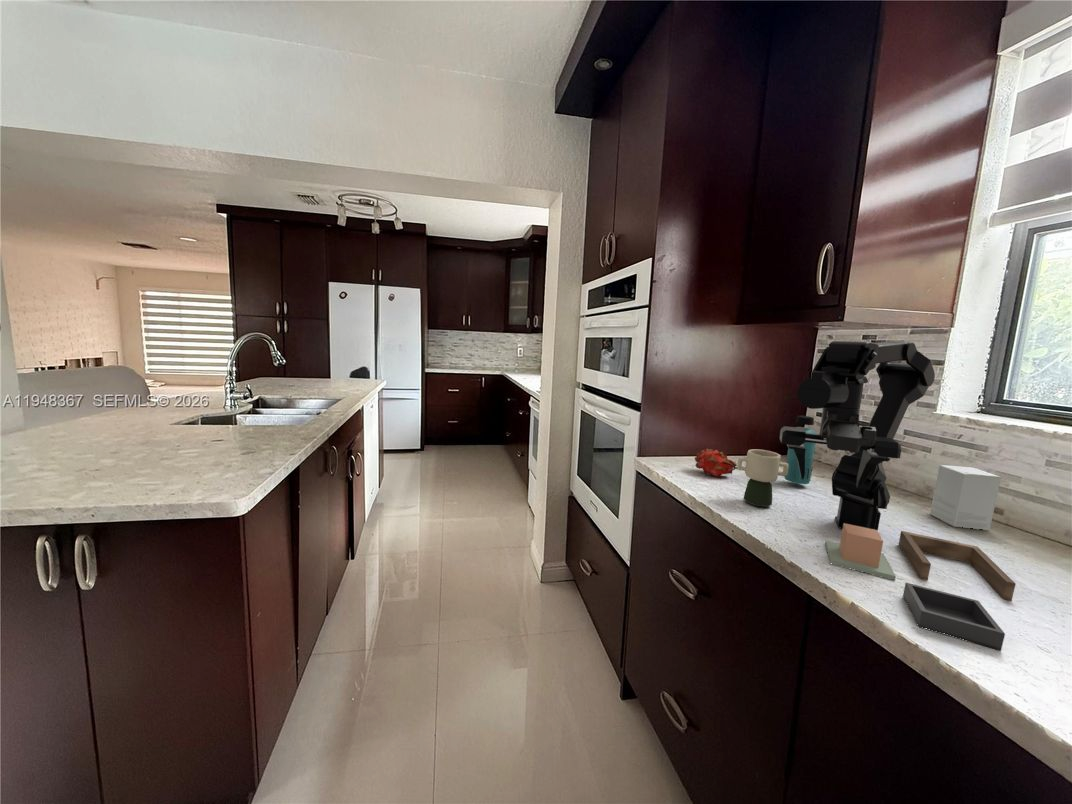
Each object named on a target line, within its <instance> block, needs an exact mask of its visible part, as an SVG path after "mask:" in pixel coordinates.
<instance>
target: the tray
mask: <svg viewBox="0 0 1072 804" xmlns="http://www.w3.org/2000/svg"><path fill="white" fill-rule="evenodd" d="M903 597H904V598H903ZM902 598H903V600H904V602H905V603H906V606H907V605H908V606H907V608H908V607H909V608H908V610H909V609H910V610H909V612H910V611H911V612H910V614H911V613H912V614H911V615H913V616H912V617H914V618H913V619H914V621H915V623H916V625H917V624H918V625H917V627H918V626H919V627H918V628H920V627H923V628H922V629H924V628H927V629H930V630H929V631H931V630H933V631H932V632H934V631H937V632H941V633H945V634H948V635H951V636H954V637H953V638H955V637H957V638H956V639H958V638H961V639H960V640H962V639H964V640H963V641H965V640H967V641H966V642H968V641H970V642H969V643H973V644H976V645H979V646H983V647H986V648H990V649H992V650H993V649H994V650H997V651H1000V652H1001V651H1002V648H1003V644H1004V640H1005V636H1006V633H1005V632H1004V630H1003V629H1002V628H1001V627H1000V626H999V624H998V623H997V622H996V620H995V619H994V618H993V617H992V615H990V613H989V612H988V611H987V610H986V608H985V607H984V606H983V604H982V603H981V602H980V600H977V599H973V598H971V597H970V598H969V597H965V596H961V595H957V594H953V593H949V592H946V591H945V592H944V591H941V590H937V589H934V588H931V587H930V588H929V587H925V586H922V585H917V584H915V583H914V584H913V583H909V582H905V584H904V589H903V594H902ZM927 629H926V630H927ZM937 632H936V633H937ZM941 633H940V634H941ZM948 635H947V636H948ZM951 636H950V637H951Z"/></svg>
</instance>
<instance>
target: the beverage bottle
mask: <svg viewBox="0 0 1072 804" xmlns="http://www.w3.org/2000/svg"><path fill="white" fill-rule="evenodd" d="M814 422H815V419H814V417H813V416H808V415H798V416H797V417H796V420H795V423H796V424H798V425H804V426H805V427H802V426H796V428H803V429H804V431H805V432H806V433H812V434H818V433H817V432H816V431H815V430H814V429H813V428H809V427H806V426H814V424H815V423H814ZM803 445H804V446H805V448H806V451H805V476H804V479H801V475H800V471H799V466H798V462H797V458H796V455H795V452H794V449H789V448H788V447H787V448H788V449H787V453H786V458H785V459H786V460H785V461H786V462H785V463H787V464H788V473H787V476H783V478H784V479H785V480H786V481H787V482H791V483H794V484H799V485H808V484H810V482H811V479H812V474H813V473H812V472H813V463H814V456H815V451H816V443H810V442H805V443H804V444H803Z"/></svg>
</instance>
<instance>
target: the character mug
mask: <svg viewBox="0 0 1072 804" xmlns="http://www.w3.org/2000/svg"><path fill="white" fill-rule="evenodd" d="M743 462H745V466H742V464H743ZM736 465H737V466H736V467H737V469H736V470H739V471H743V472H744V473H745V476H746V477H747V478H749V479H748V480H747V485H746V487H745V491H744V495H743V500H744V501H745V502H747V503H749V504H751V505H754V506H757V507H762V508H763V507H769V506H772V504H773V484H772V483H774V482H776V481H777V480H778V477H780V476H781V477H784V476H787V473H788V464H787V463H786V462H782V461H781V454H779V453H777V452H774V451H771V450H766V449H758V448H757V449H748V451H747V453H746V457H745V456H744V457H743V456H739V457H738V459H737V463H736ZM780 467H783V469H782V471H779V470H780Z"/></svg>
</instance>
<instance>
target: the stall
mask: <svg viewBox="0 0 1072 804" xmlns="http://www.w3.org/2000/svg"><path fill="white" fill-rule="evenodd" d="M898 546H899V548H900V549H901V550H902V553H903V554H904V556H905V558H906V559H907V561H908V562H909V564H910V566H911V567H912V568H913V570H914V571H915V573H916V574H917V576H918V578H919V577H920V578H921V579H920V578H919V579H920V580H924V579H925V580H924V581H928V580H929V576H930V570H931V565H932V564H931V562H930V561H929V559H928V558H927V556H926V555H925V554H930V555H934V556H938V557H942V556H943V558H947V559H951V558H952V560H956V561H960V562H965V563H970V565H971V566H972V567H973V568H974V570H976V572H977V573H979V575H980V576H981V577H982V578H983V579H984V580H985V581H986V583H987V584H988V585H990V587H991V588H992V589H993V591H995V592H996V593H997V594H998V595H999V596H1000V598H1001V599H1003V600H1007V601H1011V602H1012V601H1013V597H1014V592H1015V590H1016V589H1015V588H1016V584H1017V583H1016V582H1015V581H1014V580H1013V579H1012V578H1011V577H1010V576H1009V575H1008V574H1007V573H1005V572H1004V571H1003V569H1001V568H1000V567H999V566H998V565H997V564H996V563H995V562H994V561H993V560H992V559H991V558H990V557H989V556H988V555H987V554H986V553H985V552H984V551H983V550H982V549H981V548H980V547H979V546H977V545H971V544H967V543H964V542H963V543H961V542H958V541H954V540H953V541H952V540H949V539H942V538H937V537H934V536H928V535H924V534H919V533H915V532H910V531H904V530H900V535H899V540H898ZM924 553H925V554H924Z"/></svg>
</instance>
